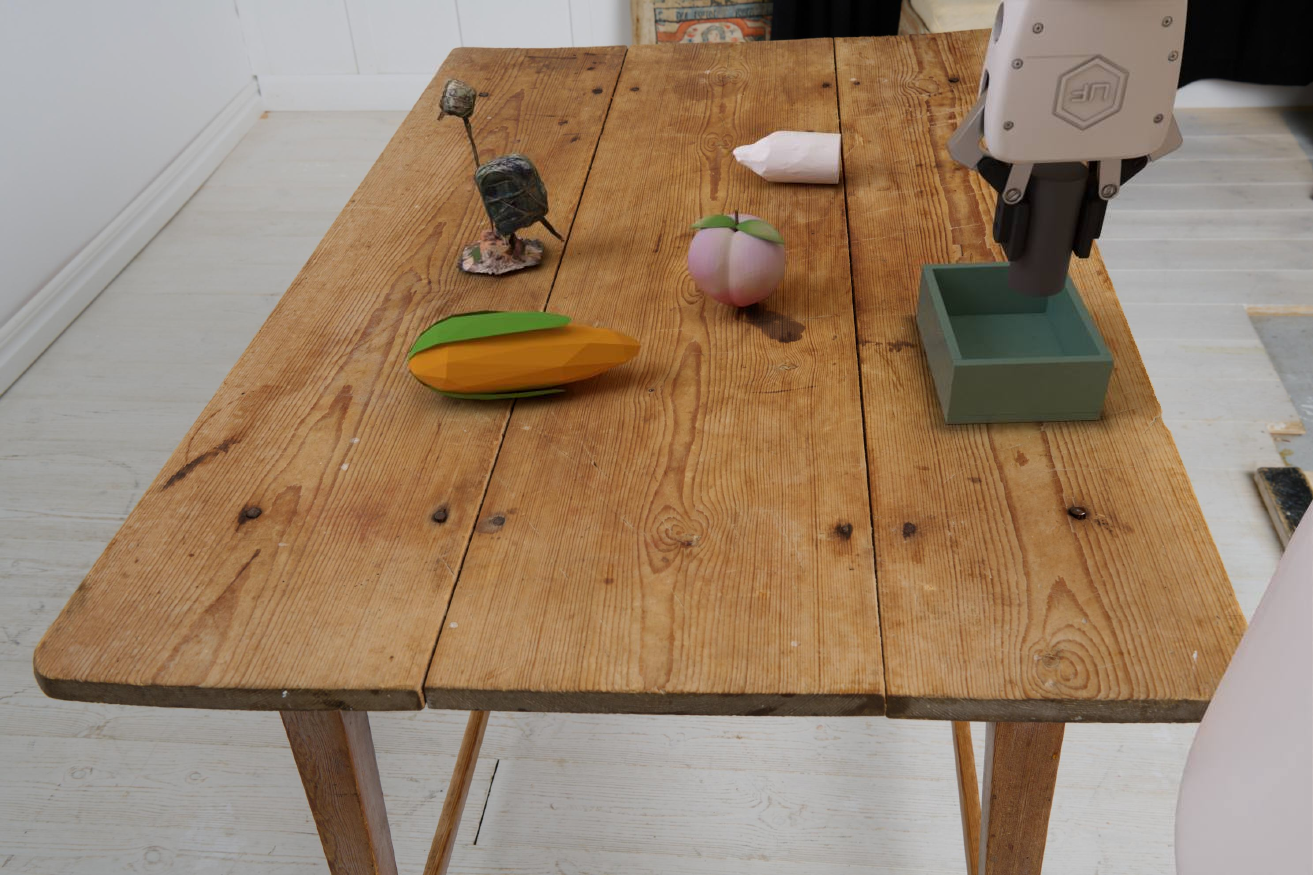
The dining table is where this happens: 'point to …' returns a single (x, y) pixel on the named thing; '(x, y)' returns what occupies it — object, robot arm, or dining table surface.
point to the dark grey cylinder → (1049, 228)
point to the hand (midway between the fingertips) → (1043, 246)
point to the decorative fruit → (736, 258)
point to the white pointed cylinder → (794, 157)
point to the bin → (1009, 348)
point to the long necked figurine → (500, 198)
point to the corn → (513, 353)
